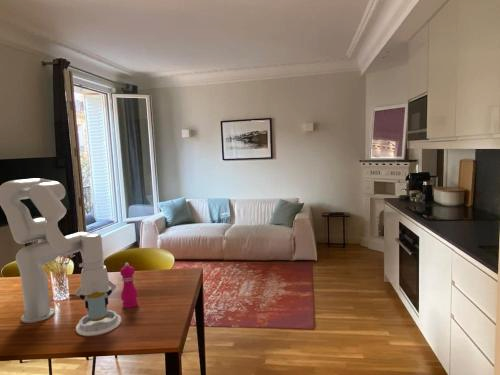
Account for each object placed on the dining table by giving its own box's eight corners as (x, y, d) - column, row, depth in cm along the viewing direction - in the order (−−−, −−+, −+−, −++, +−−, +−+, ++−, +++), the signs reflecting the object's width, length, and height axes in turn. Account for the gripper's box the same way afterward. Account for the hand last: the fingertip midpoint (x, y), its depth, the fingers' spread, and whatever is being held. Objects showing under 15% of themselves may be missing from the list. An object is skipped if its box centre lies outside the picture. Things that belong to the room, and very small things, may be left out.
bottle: (102, 312, 148) (99, 277, 147) (110, 316, 144) (107, 281, 142) (85, 318, 143) (82, 283, 142) (94, 323, 139) (90, 286, 137)
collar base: (66, 330, 141) (66, 323, 140) (102, 312, 155) (102, 305, 155) (95, 339, 132) (94, 332, 132) (130, 320, 147) (129, 313, 147)
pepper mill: (133, 309, 158) (129, 265, 155) (118, 308, 159) (115, 265, 157) (141, 302, 165) (138, 260, 163) (127, 301, 166) (123, 260, 164)
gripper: (68, 271, 135) (72, 316, 137) (116, 264, 141) (120, 307, 143) (70, 265, 142) (74, 308, 144) (116, 259, 148) (119, 300, 150)
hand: (97, 307), depth 143 cm, fingers closed on bottle, 5 cm apart
